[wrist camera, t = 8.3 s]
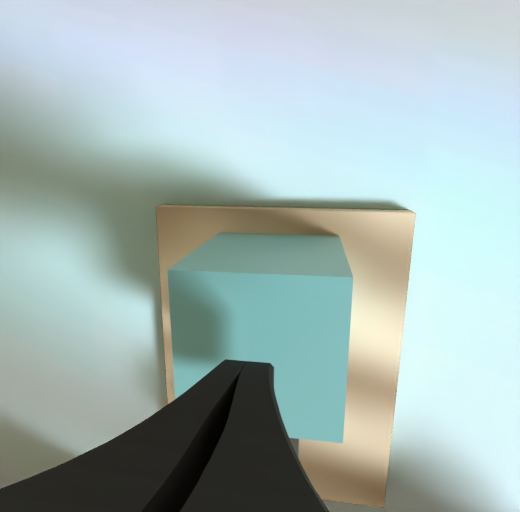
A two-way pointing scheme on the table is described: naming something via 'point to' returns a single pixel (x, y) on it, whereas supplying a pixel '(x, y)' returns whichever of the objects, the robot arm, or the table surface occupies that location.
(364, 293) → the birch board
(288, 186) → the table surface
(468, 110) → the table surface
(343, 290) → the pale aqua cube
